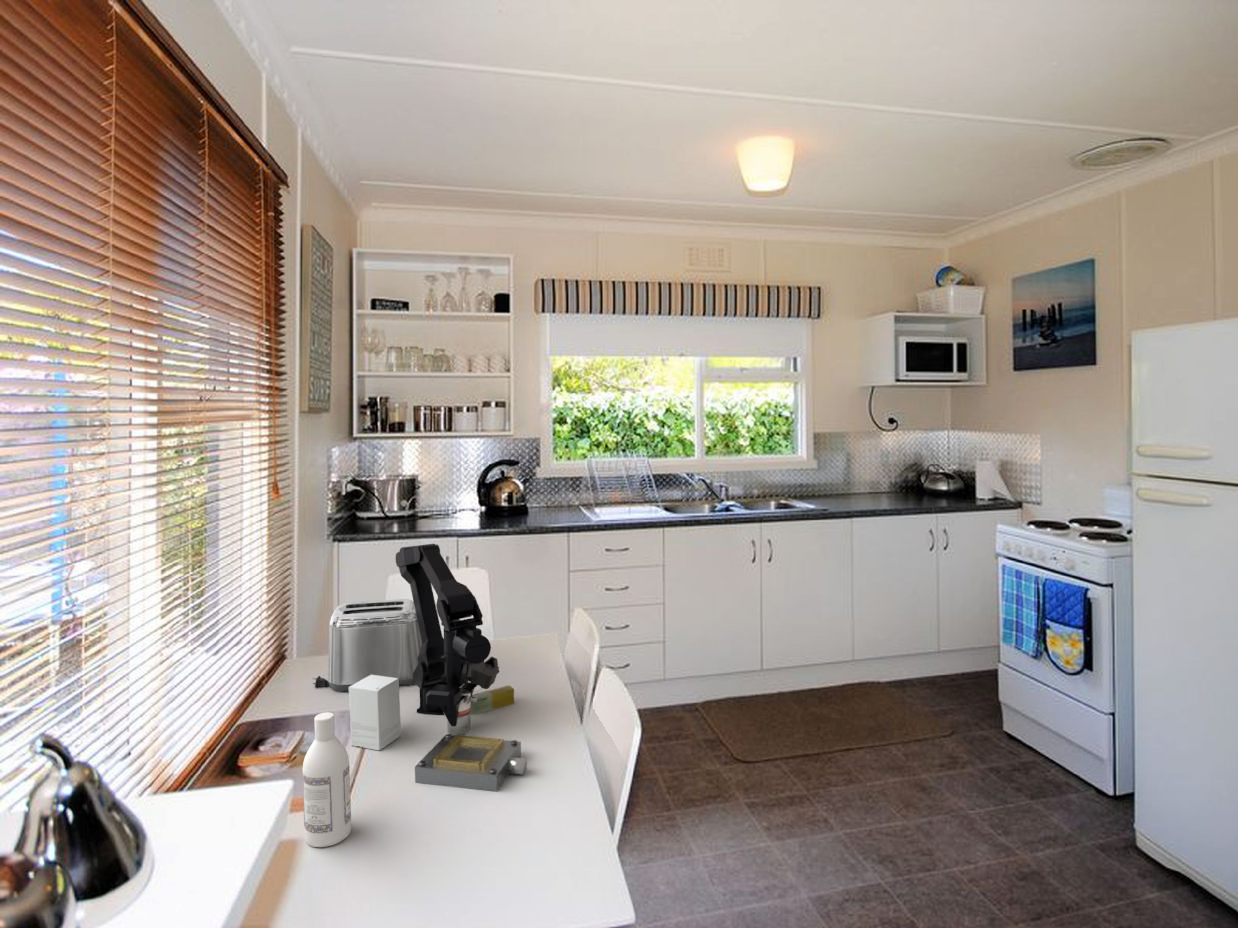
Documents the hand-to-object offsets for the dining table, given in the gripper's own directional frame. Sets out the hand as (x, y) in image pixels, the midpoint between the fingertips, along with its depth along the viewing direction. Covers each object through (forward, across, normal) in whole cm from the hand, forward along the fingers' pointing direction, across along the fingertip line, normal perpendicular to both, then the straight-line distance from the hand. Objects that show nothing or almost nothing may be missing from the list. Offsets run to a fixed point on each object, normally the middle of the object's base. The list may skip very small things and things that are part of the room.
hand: (459, 720), depth 148 cm
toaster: (+2, +22, +33) cm, 40 cm away
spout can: (+2, 0, 0) cm, 2 cm away
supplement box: (+2, -8, +15) cm, 17 cm away
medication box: (+2, +12, -2) cm, 12 cm away
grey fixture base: (+2, -15, -11) cm, 18 cm away
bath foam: (+2, -39, +5) cm, 39 cm away
